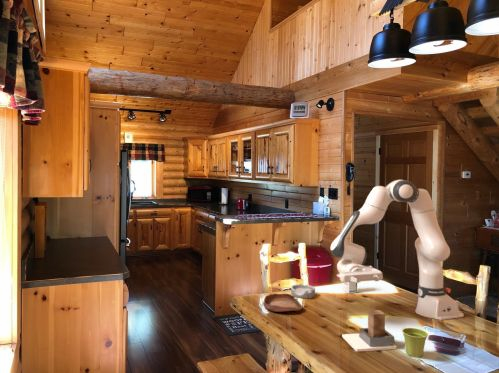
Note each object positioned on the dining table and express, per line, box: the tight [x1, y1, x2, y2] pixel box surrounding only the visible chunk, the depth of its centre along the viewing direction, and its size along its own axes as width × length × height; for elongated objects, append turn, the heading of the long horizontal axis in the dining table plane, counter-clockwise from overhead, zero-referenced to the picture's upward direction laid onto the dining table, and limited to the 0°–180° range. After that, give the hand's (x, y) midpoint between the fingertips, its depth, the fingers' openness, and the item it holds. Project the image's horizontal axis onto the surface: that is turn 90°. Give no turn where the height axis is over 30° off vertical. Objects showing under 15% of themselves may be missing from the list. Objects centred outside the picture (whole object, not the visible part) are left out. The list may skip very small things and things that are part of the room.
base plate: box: [341, 333, 397, 353], centre depth 169 cm, size 17×15×1 cm
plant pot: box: [401, 327, 429, 358], centre depth 158 cm, size 9×9×9 cm
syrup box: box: [343, 282, 358, 295], centre depth 243 cm, size 6×6×14 cm
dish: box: [290, 284, 316, 299], centre depth 236 cm, size 14×14×5 cm
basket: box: [263, 293, 304, 313], centre depth 213 cm, size 22×20×5 cm
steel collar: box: [358, 327, 395, 347], centre depth 169 cm, size 10×10×4 cm
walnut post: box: [367, 309, 386, 337], centre depth 169 cm, size 5×5×12 cm
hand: (367, 280), depth 186 cm, fingers open, 8 cm apart
